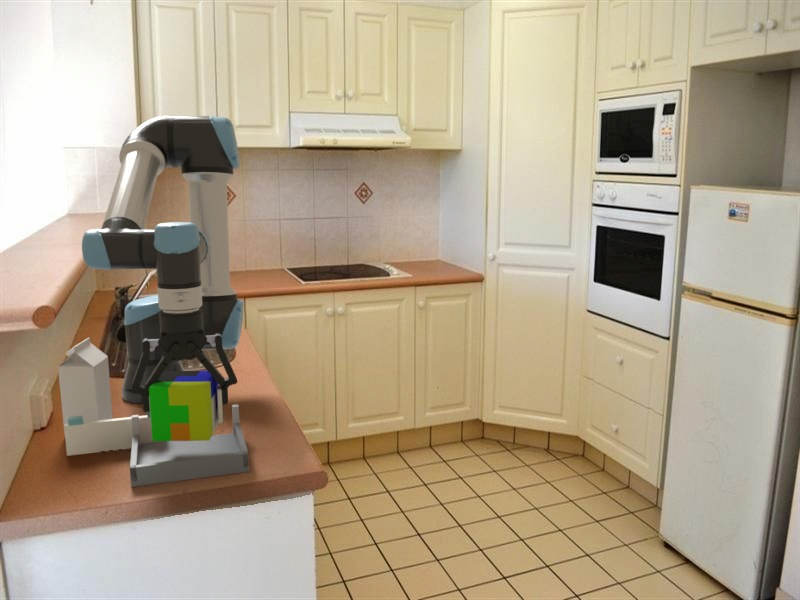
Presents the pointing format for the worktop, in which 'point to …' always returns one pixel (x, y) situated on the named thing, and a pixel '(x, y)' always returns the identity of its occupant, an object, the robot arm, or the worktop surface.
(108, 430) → the cover panel
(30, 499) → the worktop surface
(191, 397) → the puzzle toy
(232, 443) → the grey tray
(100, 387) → the milk carton
